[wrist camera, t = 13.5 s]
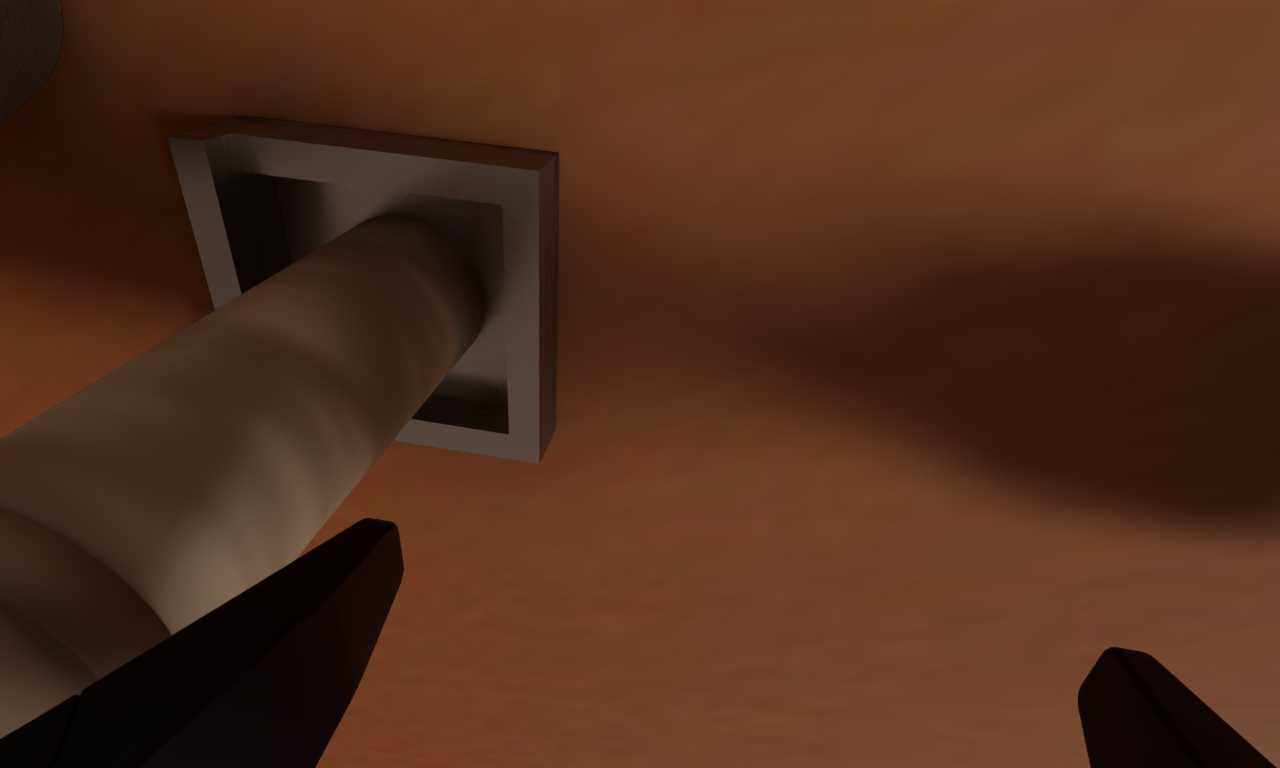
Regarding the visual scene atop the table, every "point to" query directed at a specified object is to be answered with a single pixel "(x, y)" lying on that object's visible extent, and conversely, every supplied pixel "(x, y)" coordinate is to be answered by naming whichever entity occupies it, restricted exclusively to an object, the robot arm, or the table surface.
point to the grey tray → (411, 188)
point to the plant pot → (27, 48)
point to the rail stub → (216, 454)
